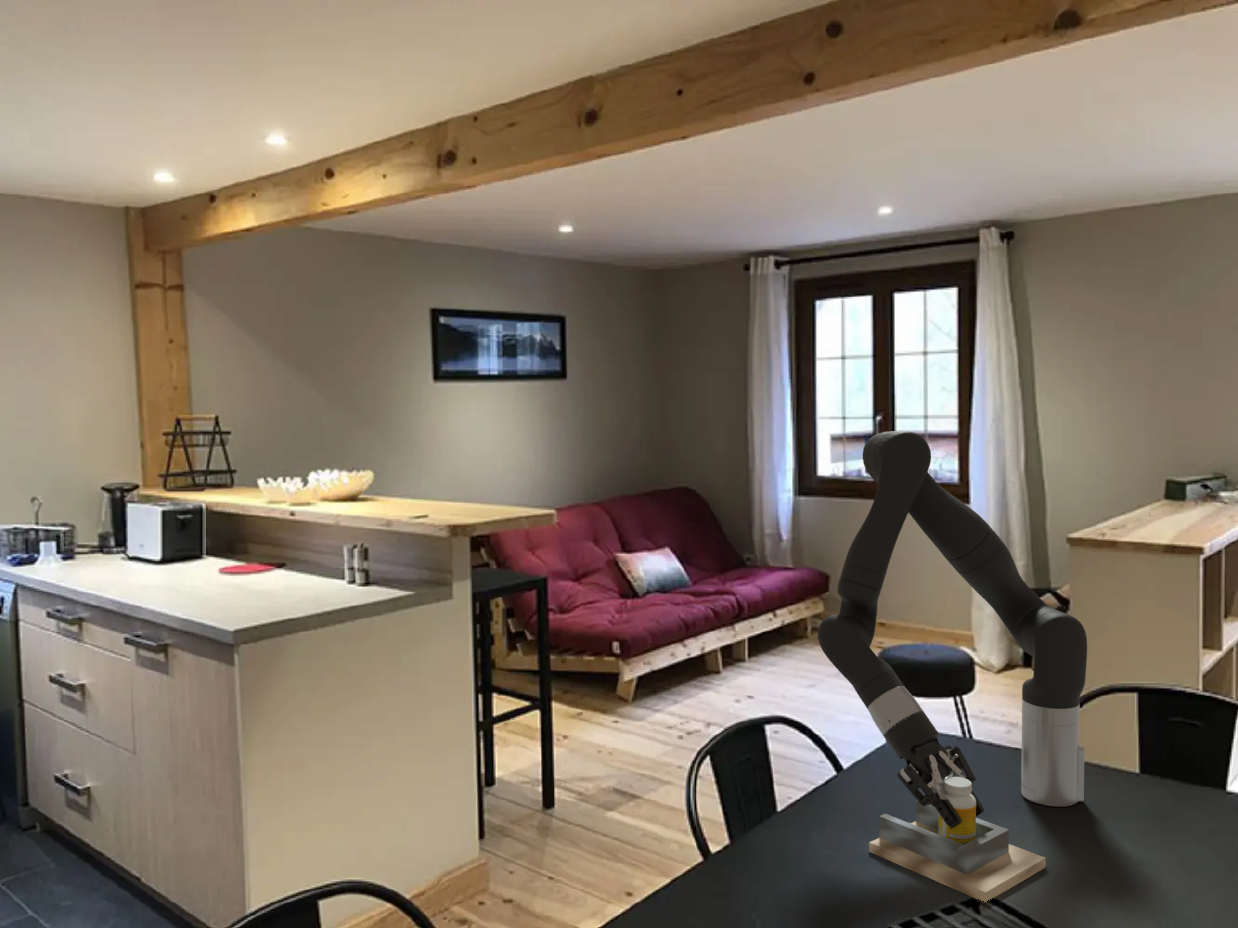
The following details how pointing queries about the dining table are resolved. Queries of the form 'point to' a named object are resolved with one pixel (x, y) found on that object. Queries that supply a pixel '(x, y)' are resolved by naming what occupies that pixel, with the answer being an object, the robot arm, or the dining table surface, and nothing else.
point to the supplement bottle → (959, 810)
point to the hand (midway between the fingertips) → (968, 819)
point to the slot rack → (956, 854)
